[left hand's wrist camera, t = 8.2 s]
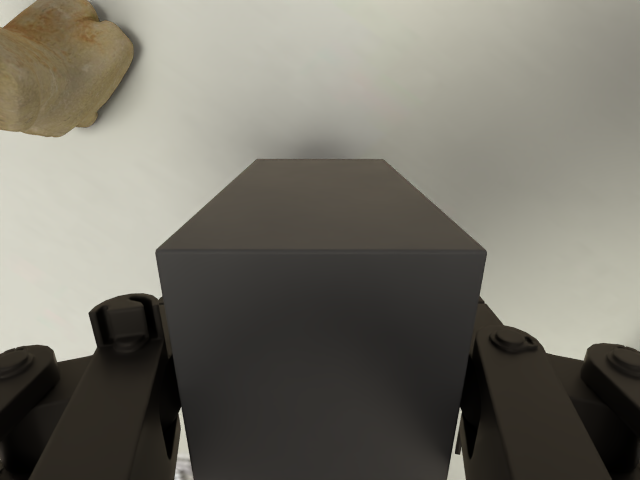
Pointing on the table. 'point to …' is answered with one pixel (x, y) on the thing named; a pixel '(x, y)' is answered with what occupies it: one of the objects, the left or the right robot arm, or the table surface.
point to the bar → (320, 324)
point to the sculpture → (58, 67)
